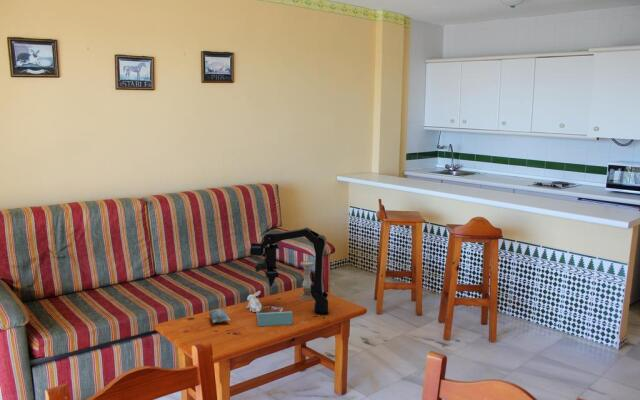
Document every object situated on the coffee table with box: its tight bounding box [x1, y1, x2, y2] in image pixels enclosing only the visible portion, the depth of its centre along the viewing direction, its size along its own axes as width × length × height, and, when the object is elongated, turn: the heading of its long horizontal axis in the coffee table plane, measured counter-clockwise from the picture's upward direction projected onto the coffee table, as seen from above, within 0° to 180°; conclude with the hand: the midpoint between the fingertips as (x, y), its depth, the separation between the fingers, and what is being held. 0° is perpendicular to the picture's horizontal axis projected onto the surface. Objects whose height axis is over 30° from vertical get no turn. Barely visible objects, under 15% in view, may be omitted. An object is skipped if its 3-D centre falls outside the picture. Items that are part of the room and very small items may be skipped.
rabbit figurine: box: [245, 290, 262, 314], centre depth 284 cm, size 12×8×10 cm, turn 30°
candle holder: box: [299, 260, 315, 301], centre depth 302 cm, size 9×9×20 cm
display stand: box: [256, 310, 293, 327], centre depth 268 cm, size 16×10×6 cm, turn 100°
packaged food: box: [208, 308, 231, 324], centre depth 268 cm, size 9×12×5 cm
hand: (270, 286), depth 284 cm, fingers closed
